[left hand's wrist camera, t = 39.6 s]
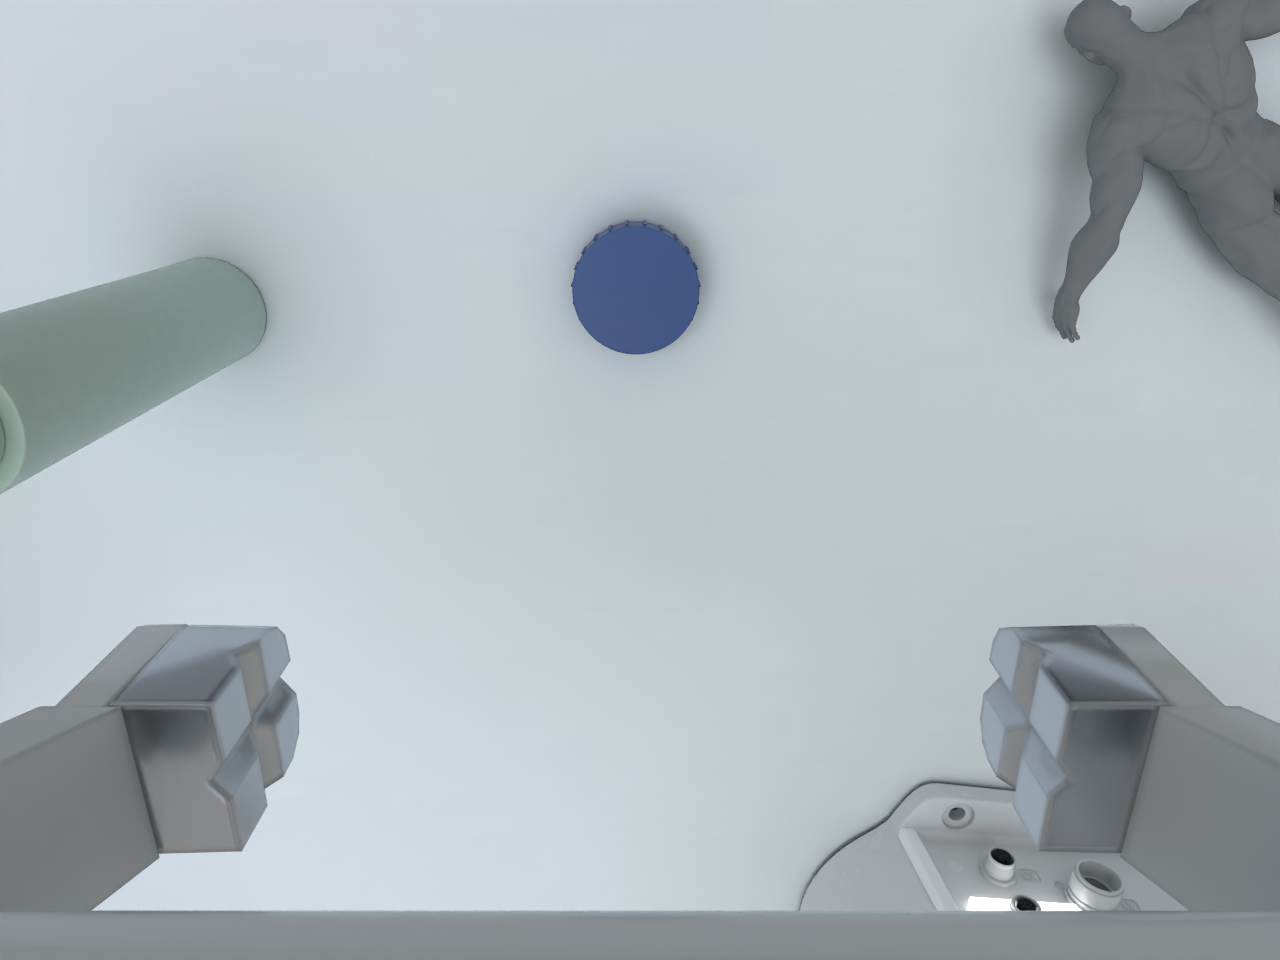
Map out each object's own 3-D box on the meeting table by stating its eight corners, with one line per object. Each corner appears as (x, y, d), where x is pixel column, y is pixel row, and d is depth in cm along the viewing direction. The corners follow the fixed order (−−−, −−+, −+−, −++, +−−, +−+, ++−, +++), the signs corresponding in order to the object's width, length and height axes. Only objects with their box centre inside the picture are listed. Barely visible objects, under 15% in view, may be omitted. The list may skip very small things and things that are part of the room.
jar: (274, 277, 37) (-21, 393, 20) (257, 374, 39) (-31, 555, 22) (168, 243, 36) (-224, 334, 20) (155, 342, 38) (-219, 504, 21)
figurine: (1536, 155, 36) (1227, -208, 30) (1651, 162, 32) (1321, -253, 26) (1213, 467, 41) (899, 203, 35) (1279, 506, 37) (936, 216, 31)
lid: (626, 192, 36) (625, 195, 34) (723, 274, 37) (728, 282, 35) (549, 292, 37) (544, 301, 35) (645, 368, 38) (645, 381, 36)
